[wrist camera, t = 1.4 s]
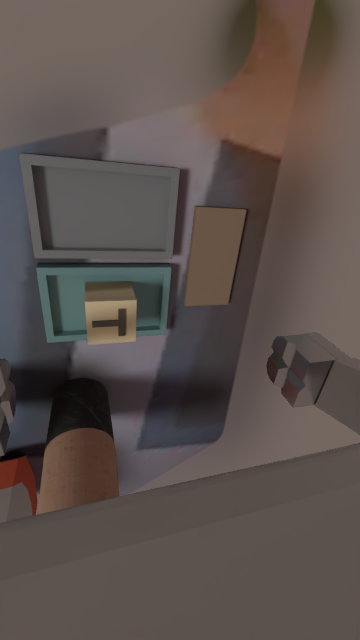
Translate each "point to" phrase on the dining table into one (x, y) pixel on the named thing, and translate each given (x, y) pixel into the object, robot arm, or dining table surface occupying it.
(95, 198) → the gray bin
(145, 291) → the teal bin
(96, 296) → the letter cube
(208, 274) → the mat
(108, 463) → the travel mug
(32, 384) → the dining table surface
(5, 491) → the french fries container
